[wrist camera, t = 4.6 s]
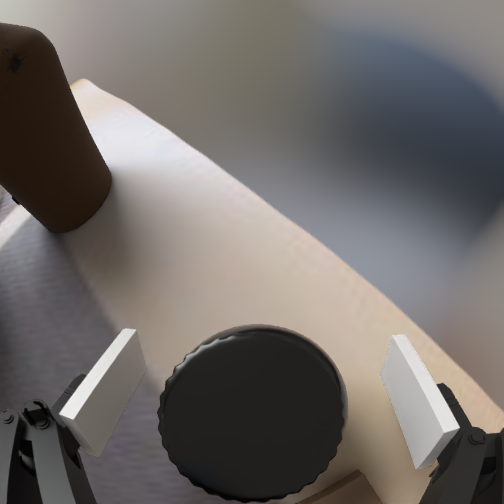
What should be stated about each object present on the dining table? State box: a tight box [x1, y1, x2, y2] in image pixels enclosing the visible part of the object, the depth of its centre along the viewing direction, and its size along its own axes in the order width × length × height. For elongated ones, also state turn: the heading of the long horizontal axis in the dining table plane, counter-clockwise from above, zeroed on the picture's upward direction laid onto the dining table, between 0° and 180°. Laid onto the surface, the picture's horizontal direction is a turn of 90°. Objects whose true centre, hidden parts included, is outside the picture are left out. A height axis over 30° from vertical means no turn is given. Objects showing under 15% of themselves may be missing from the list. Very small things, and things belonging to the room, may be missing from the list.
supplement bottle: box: [157, 324, 348, 503], centre depth 11 cm, size 7×7×12 cm
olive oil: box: [0, 23, 111, 233], centre depth 15 cm, size 11×11×25 cm
